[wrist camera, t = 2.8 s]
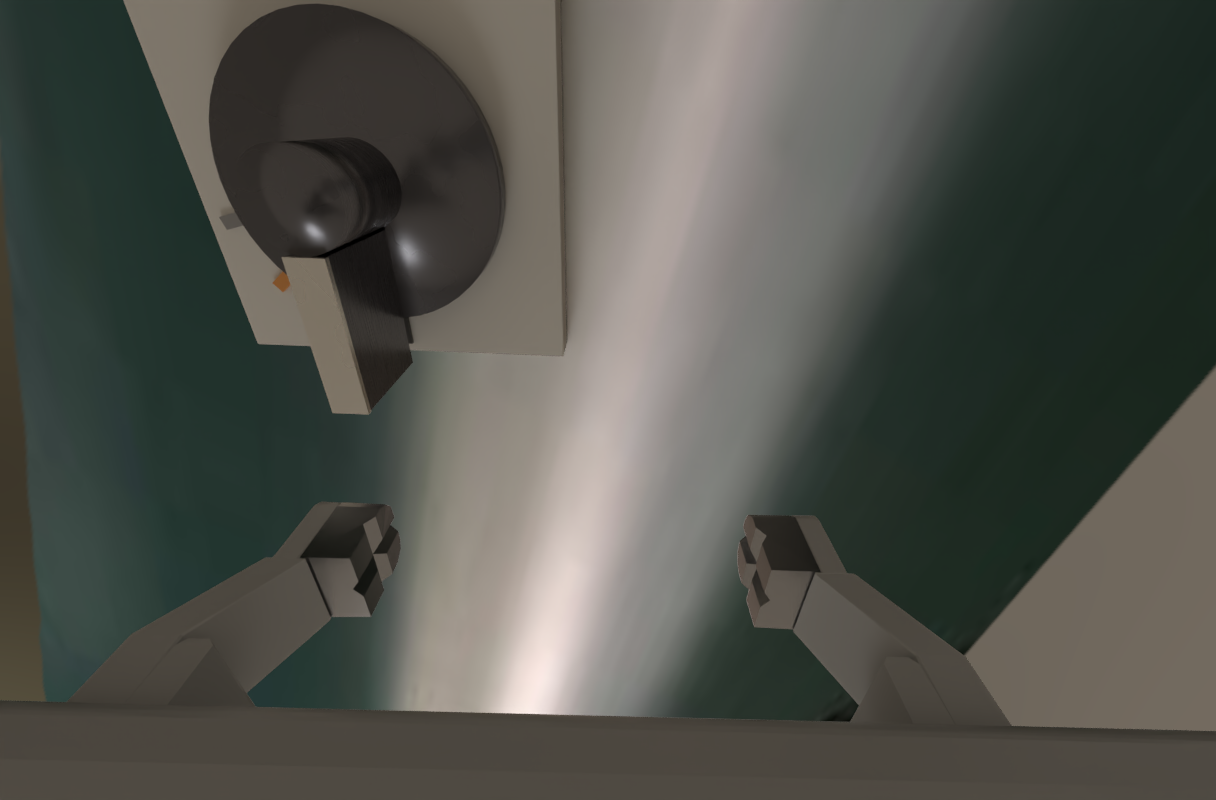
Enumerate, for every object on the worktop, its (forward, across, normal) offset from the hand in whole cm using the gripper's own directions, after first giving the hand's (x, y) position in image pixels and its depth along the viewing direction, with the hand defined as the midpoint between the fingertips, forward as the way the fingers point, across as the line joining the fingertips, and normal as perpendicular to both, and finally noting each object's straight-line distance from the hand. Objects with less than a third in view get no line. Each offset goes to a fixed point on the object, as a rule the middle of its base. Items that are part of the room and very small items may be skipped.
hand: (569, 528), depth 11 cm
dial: (+11, +8, -5) cm, 15 cm away
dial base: (+13, +8, -6) cm, 17 cm away
